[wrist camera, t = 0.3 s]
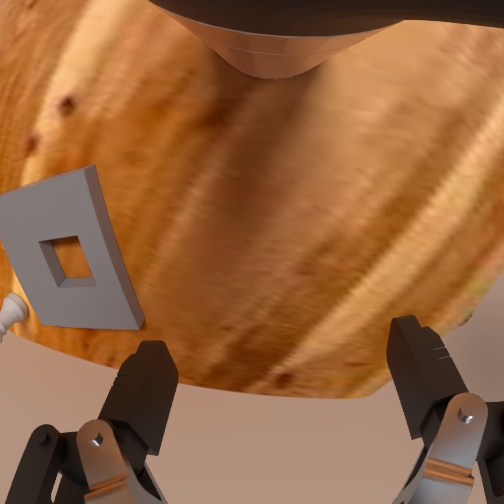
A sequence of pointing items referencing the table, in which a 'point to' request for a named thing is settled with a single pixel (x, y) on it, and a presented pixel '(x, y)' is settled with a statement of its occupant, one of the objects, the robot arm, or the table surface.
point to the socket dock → (45, 259)
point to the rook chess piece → (11, 312)
